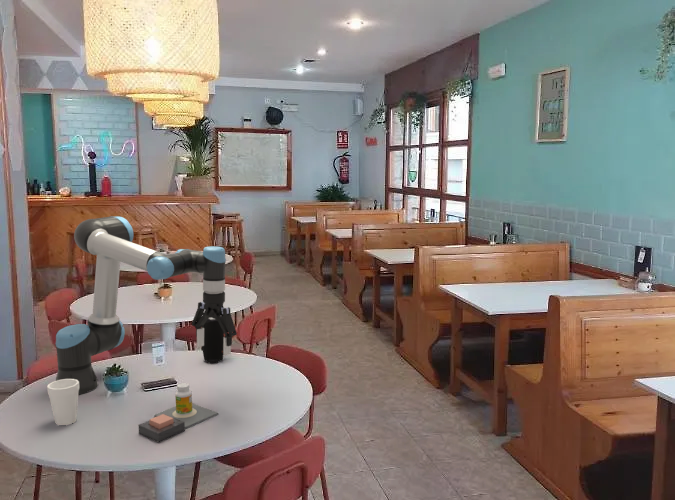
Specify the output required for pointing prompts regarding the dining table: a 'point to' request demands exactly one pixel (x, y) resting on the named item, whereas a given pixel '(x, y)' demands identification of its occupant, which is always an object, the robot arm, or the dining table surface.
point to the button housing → (161, 430)
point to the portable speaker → (213, 341)
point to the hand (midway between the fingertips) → (213, 350)
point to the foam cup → (64, 400)
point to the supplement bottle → (183, 399)
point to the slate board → (190, 415)
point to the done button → (161, 421)
